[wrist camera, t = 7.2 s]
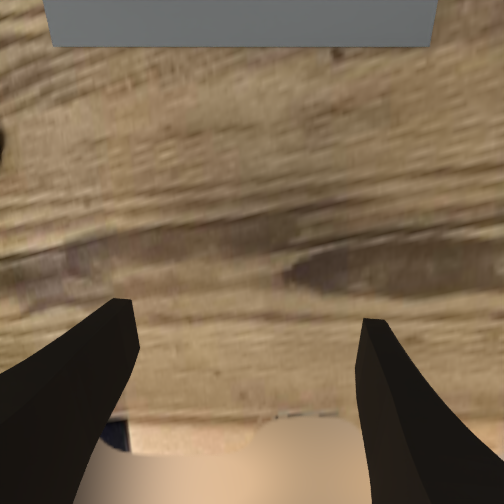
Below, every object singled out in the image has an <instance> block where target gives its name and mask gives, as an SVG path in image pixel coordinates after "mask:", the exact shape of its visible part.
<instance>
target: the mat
mask: <svg viewBox="0 0 504 504" xmlns="http://www.w3.org/2000/svg"><path fill="white" fill-rule="evenodd" d="M437 2H438V0H43V4H44V8H45V13H46V17H47V22H48V26H49V31H50V35H51V39H52V44H53V47H429V46H430V41H431V35H432V30H433V24H434V19H435V13H436V8H437Z"/></svg>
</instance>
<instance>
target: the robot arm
mask: <svg viewBox="0 0 504 504" xmlns="http://www.w3.org/2000/svg"><path fill="white" fill-rule="evenodd" d="M139 350H140V345H139V339H138V333H137V328H136V322H135V317H134V311H133V305H132V300H130V299H117V298H113V299H111V300H110V301H108V302H107V303H105V304H104V305H103V306H101V307H100V308H99V309H97V310H96V311H95V312H93V313H92V314H90V315H89V316H88V317H86V318H85V319H84V320H82V321H81V322H80V323H78V324H77V325H76V326H74V327H73V328H71V329H70V330H69V331H67V332H66V333H64V334H63V335H62V336H60V337H59V338H57V339H56V340H54V341H53V342H51V343H50V344H48V345H47V346H45V347H44V348H42V349H41V350H39V351H38V352H36V353H35V354H33V355H32V356H30V357H29V358H27V359H25V360H24V361H22V362H20V363H19V364H17V365H15V366H13V367H12V368H10V369H8V370H6V371H4V372H3V373H1V374H0V504H73V501H74V498H75V496H76V493H77V490H78V487H79V485H80V482H81V480H82V477H83V474H84V472H85V469H86V467H87V464H88V462H89V459H90V457H91V454H92V452H93V450H94V448H95V445H96V443H97V441H98V439H99V437H100V435H101V433H102V431H103V429H104V427H105V425H106V423H107V421H108V419H109V417H110V416H111V414H112V412H113V410H114V408H115V406H116V404H117V402H118V400H119V398H120V396H121V394H122V392H123V390H124V388H125V386H126V384H127V382H128V380H129V378H130V376H131V373H132V370H133V368H134V365H135V362H136V359H137V356H138V353H139ZM355 380H356V399H357V406H358V412H359V418H360V424H361V429H362V435H363V441H364V447H365V453H366V458H367V464H368V470H369V477H370V485H371V497H372V504H504V461H503V460H501V458H499V457H498V456H497V455H496V454H495V453H494V452H493V451H492V450H491V449H490V448H488V447H487V446H486V445H485V444H484V443H483V442H482V441H481V440H480V439H478V438H477V437H476V436H475V435H474V434H473V433H472V432H471V431H470V430H469V429H468V428H467V427H466V426H465V425H464V424H463V423H462V422H461V420H460V419H459V418H458V417H457V416H456V415H455V414H454V413H453V412H452V411H451V410H450V409H449V407H448V406H447V405H446V404H445V403H444V402H443V401H442V399H441V398H440V397H439V396H438V395H437V393H436V392H435V391H434V390H433V388H432V387H431V386H430V385H429V383H428V382H427V381H426V380H425V378H424V377H423V376H422V374H421V373H420V372H419V370H418V369H417V367H416V366H415V365H414V363H413V362H412V361H411V359H410V358H409V356H408V355H407V353H406V352H405V350H404V349H403V347H402V346H401V344H400V343H399V341H398V340H397V338H396V336H395V335H394V333H393V332H392V330H391V328H390V327H389V325H388V323H387V322H386V321H385V320H381V319H368V318H363V323H362V329H361V335H360V341H359V347H358V353H357V359H356V365H355Z"/></svg>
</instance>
